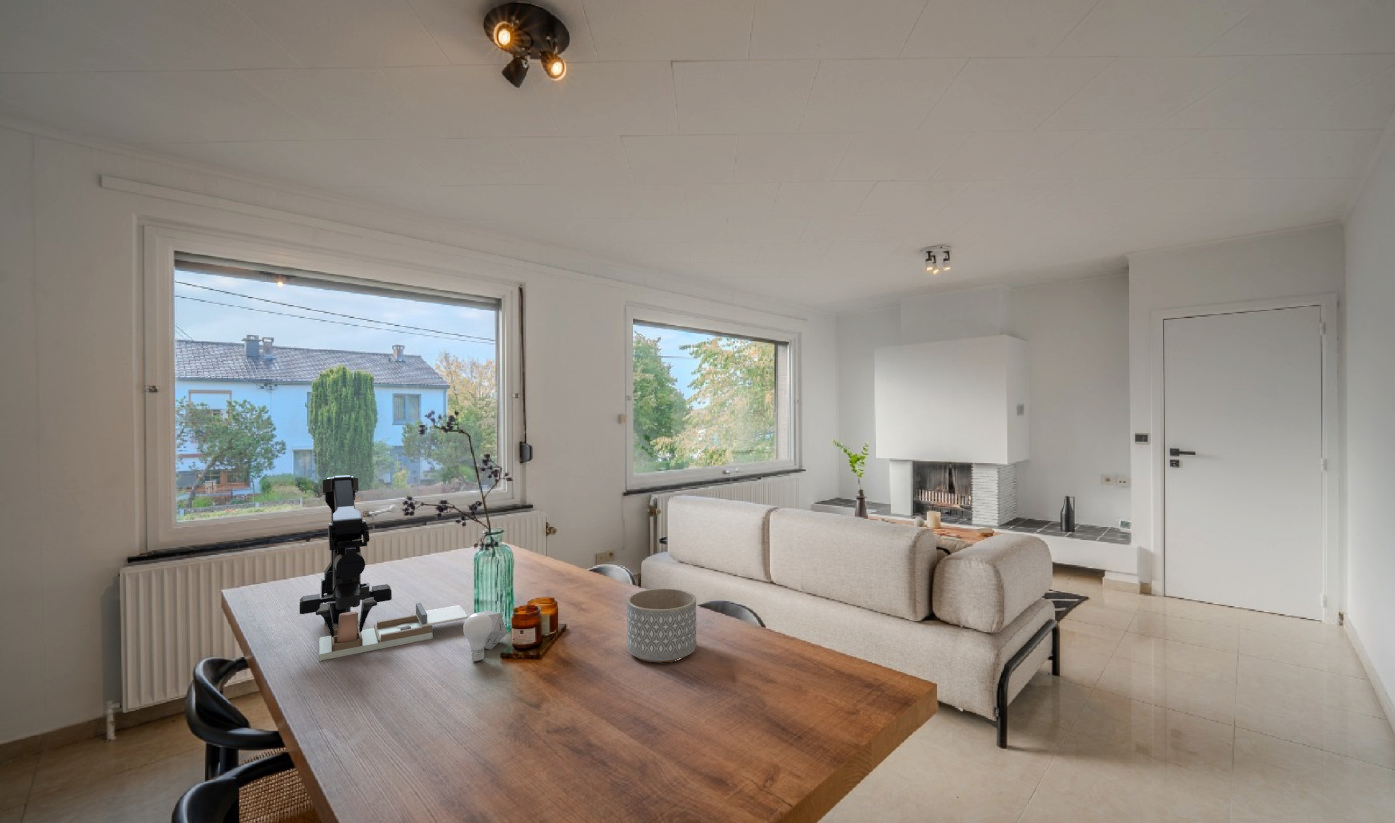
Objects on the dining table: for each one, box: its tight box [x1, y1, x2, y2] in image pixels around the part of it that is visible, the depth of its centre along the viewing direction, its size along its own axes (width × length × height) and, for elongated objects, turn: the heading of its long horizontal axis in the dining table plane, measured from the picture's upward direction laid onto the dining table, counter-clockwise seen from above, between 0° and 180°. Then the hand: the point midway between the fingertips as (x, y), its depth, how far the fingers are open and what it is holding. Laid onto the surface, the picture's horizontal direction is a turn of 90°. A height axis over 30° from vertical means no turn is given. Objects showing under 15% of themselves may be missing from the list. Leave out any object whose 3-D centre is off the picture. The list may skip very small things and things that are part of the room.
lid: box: [415, 602, 469, 627], centre depth 152 cm, size 11×11×3 cm
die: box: [480, 609, 509, 651], centre depth 141 cm, size 8×9×10 cm
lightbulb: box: [462, 611, 493, 663], centre depth 132 cm, size 6×6×11 cm
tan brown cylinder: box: [337, 611, 359, 644], centre depth 138 cm, size 4×4×7 cm
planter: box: [626, 588, 697, 663], centre depth 137 cm, size 16×16×13 cm
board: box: [318, 614, 434, 662], centre depth 144 cm, size 12×24×3 cm, turn 123°
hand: (346, 633), depth 138 cm, fingers open, 5 cm apart
